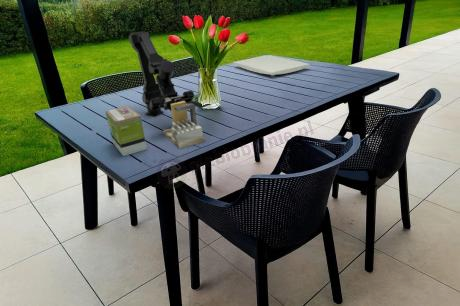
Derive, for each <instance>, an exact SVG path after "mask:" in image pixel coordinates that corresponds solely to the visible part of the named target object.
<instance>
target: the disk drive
mask: <svg viewBox="0 0 460 306" xmlns="http://www.w3.org/2000/svg"><path fill="white" fill-rule="evenodd" d="M194 95H195V96H194V98H193V100H192V102H189V103H186V104H190V103H193V104H194V105H195V107H198V108H200V109H201V108H202V109H203V108H205V107H208V106H211V105H212V104H205V105H203V106H202V104H201V103H199V102H198V95H199V94H194Z"/></svg>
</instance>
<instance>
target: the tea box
mask: <svg viewBox="0 0 460 306" xmlns="http://www.w3.org/2000/svg"><path fill="white" fill-rule="evenodd" d="M105 116H106V119H107V124H108V128H109V133H110V136H111V141H112V143H113V145H114V146H115V148H116V149H117V151H119V152H120V154H121V155H122V156H123V157H125V156H129V155H132V154H135V153H139V152H142V151H143V152H144V151H145V150H147V149H148V148H147V143H146V142H147V141H146V137H145V132H144V128H143V122H142V118H141V115H140V114H139V113H138V112H136V111H135V110H134V109H133V108H132V107H131V106H130V105H126V106H122V107H118V108H115V109H110V110H105Z"/></svg>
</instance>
